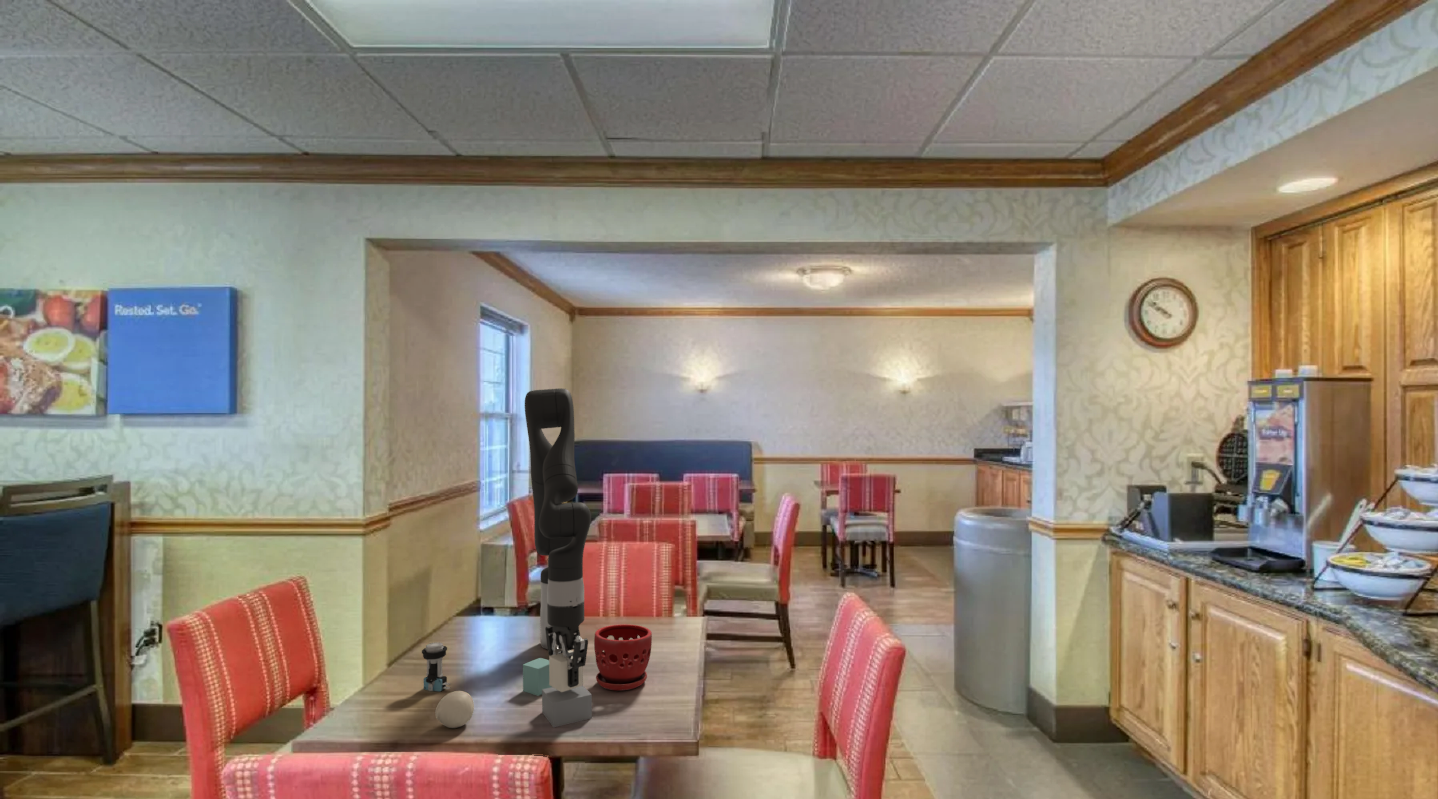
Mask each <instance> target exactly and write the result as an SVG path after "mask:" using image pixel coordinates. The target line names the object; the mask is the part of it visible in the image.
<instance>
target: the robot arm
mask: <svg viewBox="0 0 1438 799" xmlns="http://www.w3.org/2000/svg"><path fill="white" fill-rule="evenodd" d="M524 416H525V423H526V429H527V436H528V443H529V453H530V454H529V455H530V457H529V458H530V460H529V461H530V480H531V481H530V482H531V489H532V490H531V491H532V497H533V500H532V501H533V507H534V517H533V518H534V528H533V529H534V531H533V532H534V536H533V537H534V547H535V550H536V552H537V554H538V555H539V556H547V557H548V558H547V559H548V560H547V565H548V566H547V567H544V569H542V570H541V571H540V608H539V609H540V610H539V616H540V618H539V620H540V621H539V622H540V623H539V624H540V626H539V627H540V628H539V630H540V631H539V632H540V634H539V635H540V637H539V638H540V646H541V647H542V648H543V649H545V650H547V654H548V657H549V656H551V655H557V654H558V653H562V652H563V656H564V658H566V660H567V667H568V686H569V687H574V686H577V685H578V684H579V667H581V666H583V667H585V666H586V661H587V653H588V648H589V640H588V638H582V636H581V633H580V625H581V624H582V623H583V622H584V621H585V584H584V576H583V575H584V567H583V566H584V561H583V560H584V550H585V546H586V541H587V539H588V534H589V531H590V529H591V528H590V527H591V523H592V512H591V509H590V507H589V506H588V505H587V504H586V503H585V502H580V501H577V502H569V501H571V500H574V498H575V497H576V496H577V494H578V491H579V487H578V486H579V484H578V478H577V470H576V465H575V464H576V463H575V438H576V436H575V409H574V401H573V396H572V394H571V392H570V390H568V389H566V388H549V389H536V390H535V389H534V390H530V391H528V392H526V394H525V397H524ZM554 428H560V432H559V434H558V436H557V438H556V440H555V441H554V443H553V444H552V443H550V441H549V440H548V439H547V438H546V435H545V433H544V432H543V430H544V429H554ZM570 650H571V651H573V652H571V653H569V652H568V651H570ZM571 656H573V659H572V661H571ZM580 657H581V660H580Z"/></svg>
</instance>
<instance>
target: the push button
mask: <svg viewBox="0 0 1438 799" xmlns="http://www.w3.org/2000/svg"><path fill="white" fill-rule="evenodd" d="M447 651H448V646H446V645H444V643H443V642H440V641H439V642H431V643H428V644H426V645H425V648H422V649H421V654H422V657H423V659H425V660H426V673H425V677H424V678H423V690H426V691H428V692H441V691H444V690H445V689H446V690H450V689H451V687H450V685H451V684H452V683H451V682H448V680H447V679H448V678H447V675H444V674H443V658H444V657H445V656H447Z"/></svg>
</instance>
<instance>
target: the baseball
mask: <svg viewBox="0 0 1438 799" xmlns="http://www.w3.org/2000/svg"><path fill="white" fill-rule="evenodd" d="M474 711H475V703H474V699H473V697H472V696H471V695H470V694H469V693H468V692H466V691H463V690H455V691H451V692H448V693H447V694H446V695H444V696H443V697H442V699H440V700H439V702H438V703H437V705H436V708H435V711H434V712H435V719H436V720H437V721H439V722H440V724H442V725H443V726H444V727H446V728H450V729H456V728H461V727H462V726H464V725H466V724H467V723H468V722H469V721H470V720H471V719H472V716H473V714H474Z"/></svg>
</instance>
